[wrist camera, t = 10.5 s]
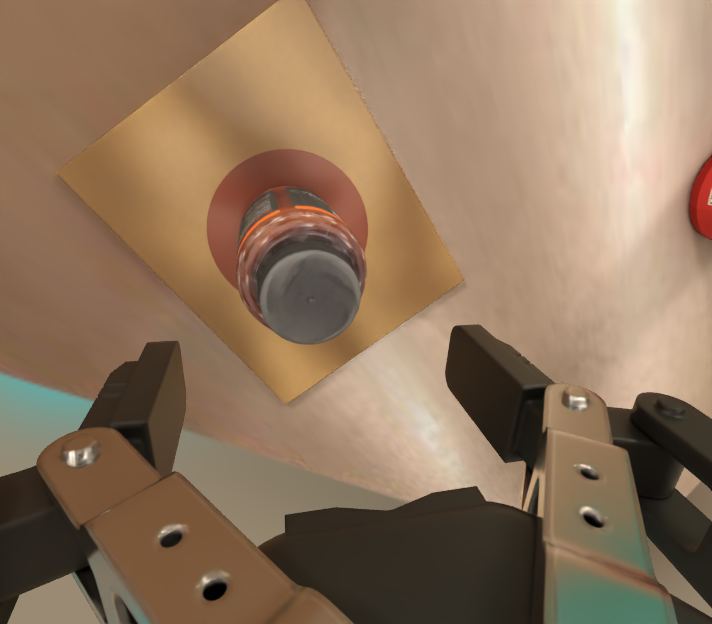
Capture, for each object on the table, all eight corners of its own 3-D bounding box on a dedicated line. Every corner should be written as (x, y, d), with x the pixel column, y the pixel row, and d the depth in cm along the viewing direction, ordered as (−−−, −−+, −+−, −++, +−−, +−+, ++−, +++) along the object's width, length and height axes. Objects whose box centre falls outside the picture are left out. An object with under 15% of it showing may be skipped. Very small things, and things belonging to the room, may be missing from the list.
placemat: (285, 403, 31) (285, 404, 31) (57, 172, 23) (55, 172, 22) (463, 279, 30) (464, 279, 30) (297, -14, 22) (297, -15, 21)
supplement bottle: (232, 268, 26) (216, 356, 16) (249, 172, 24) (244, 204, 14) (323, 286, 28) (361, 376, 18) (347, 198, 26) (403, 242, 16)
